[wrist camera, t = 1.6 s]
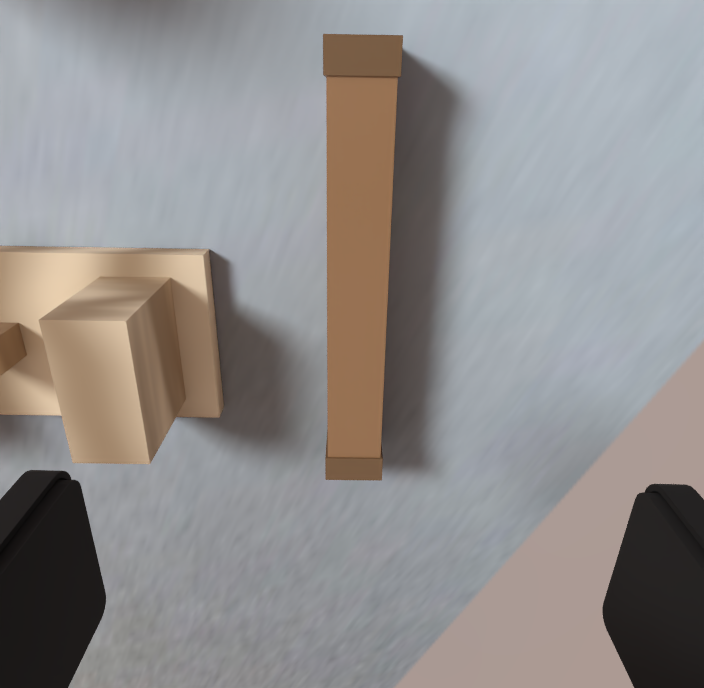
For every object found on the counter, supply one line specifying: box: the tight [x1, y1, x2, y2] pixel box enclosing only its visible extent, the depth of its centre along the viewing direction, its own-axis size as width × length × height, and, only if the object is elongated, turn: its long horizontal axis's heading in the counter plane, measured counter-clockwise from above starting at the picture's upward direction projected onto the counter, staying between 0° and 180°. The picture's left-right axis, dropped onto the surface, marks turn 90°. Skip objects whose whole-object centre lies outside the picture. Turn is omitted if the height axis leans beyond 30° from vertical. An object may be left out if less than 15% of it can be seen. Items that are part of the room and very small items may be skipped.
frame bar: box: [323, 34, 403, 480], centre depth 23 cm, size 18×3×3 cm, turn 179°
